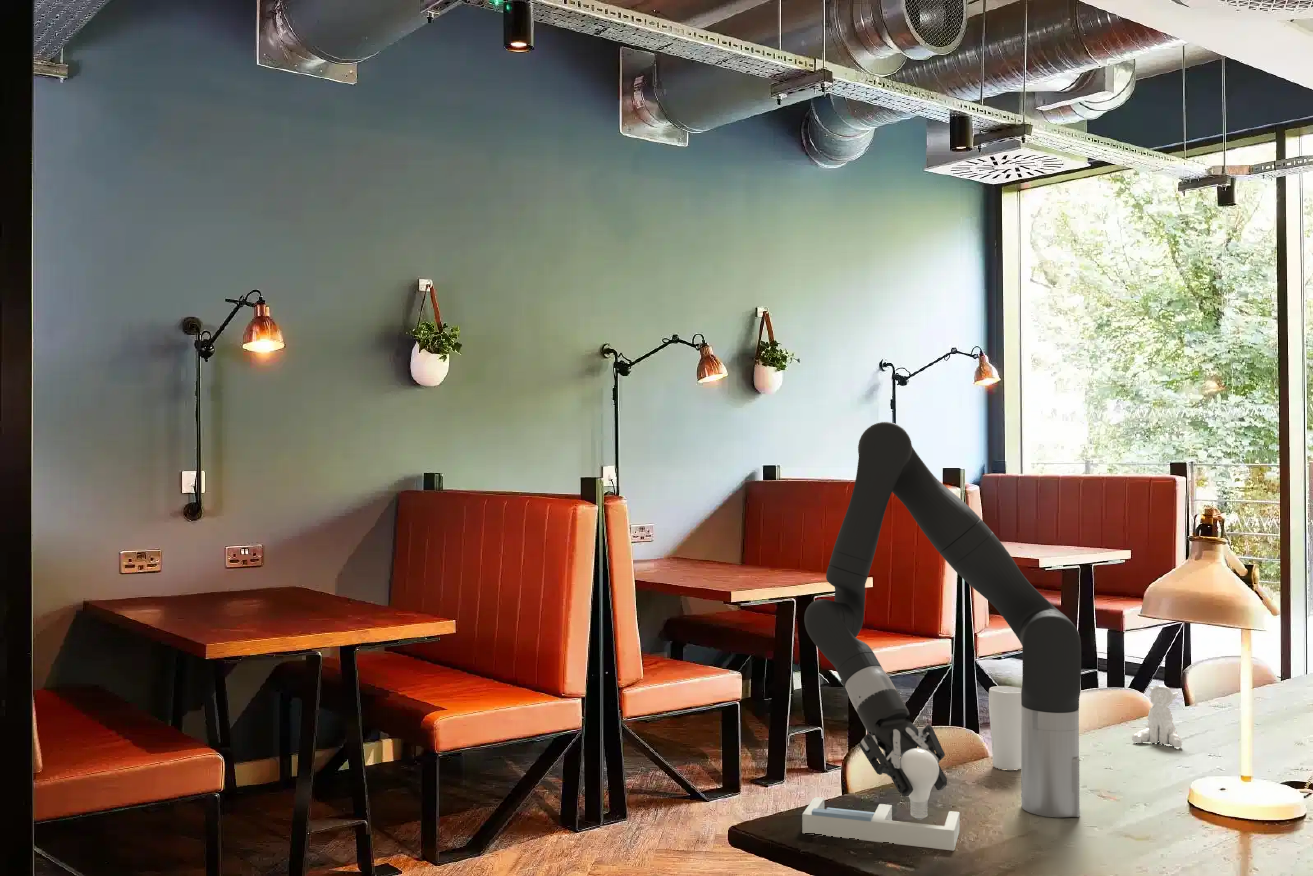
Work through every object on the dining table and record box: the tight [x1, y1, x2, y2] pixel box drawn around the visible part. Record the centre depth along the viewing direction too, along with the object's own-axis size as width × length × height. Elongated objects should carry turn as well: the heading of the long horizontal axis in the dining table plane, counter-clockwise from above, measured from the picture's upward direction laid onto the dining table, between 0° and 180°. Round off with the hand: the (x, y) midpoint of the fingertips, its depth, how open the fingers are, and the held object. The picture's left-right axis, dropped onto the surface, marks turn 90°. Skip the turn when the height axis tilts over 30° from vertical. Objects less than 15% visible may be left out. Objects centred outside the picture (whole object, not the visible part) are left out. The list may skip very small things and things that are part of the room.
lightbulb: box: [899, 747, 940, 821], centre depth 180 cm, size 6×6×11 cm
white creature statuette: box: [1131, 684, 1183, 748], centre depth 240 cm, size 10×9×12 cm
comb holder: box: [801, 796, 961, 851], centre depth 182 cm, size 23×11×4 cm, turn 70°
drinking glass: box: [988, 685, 1022, 770], centre depth 219 cm, size 7×7×15 cm
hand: (926, 790), depth 179 cm, fingers closed on lightbulb, 6 cm apart
